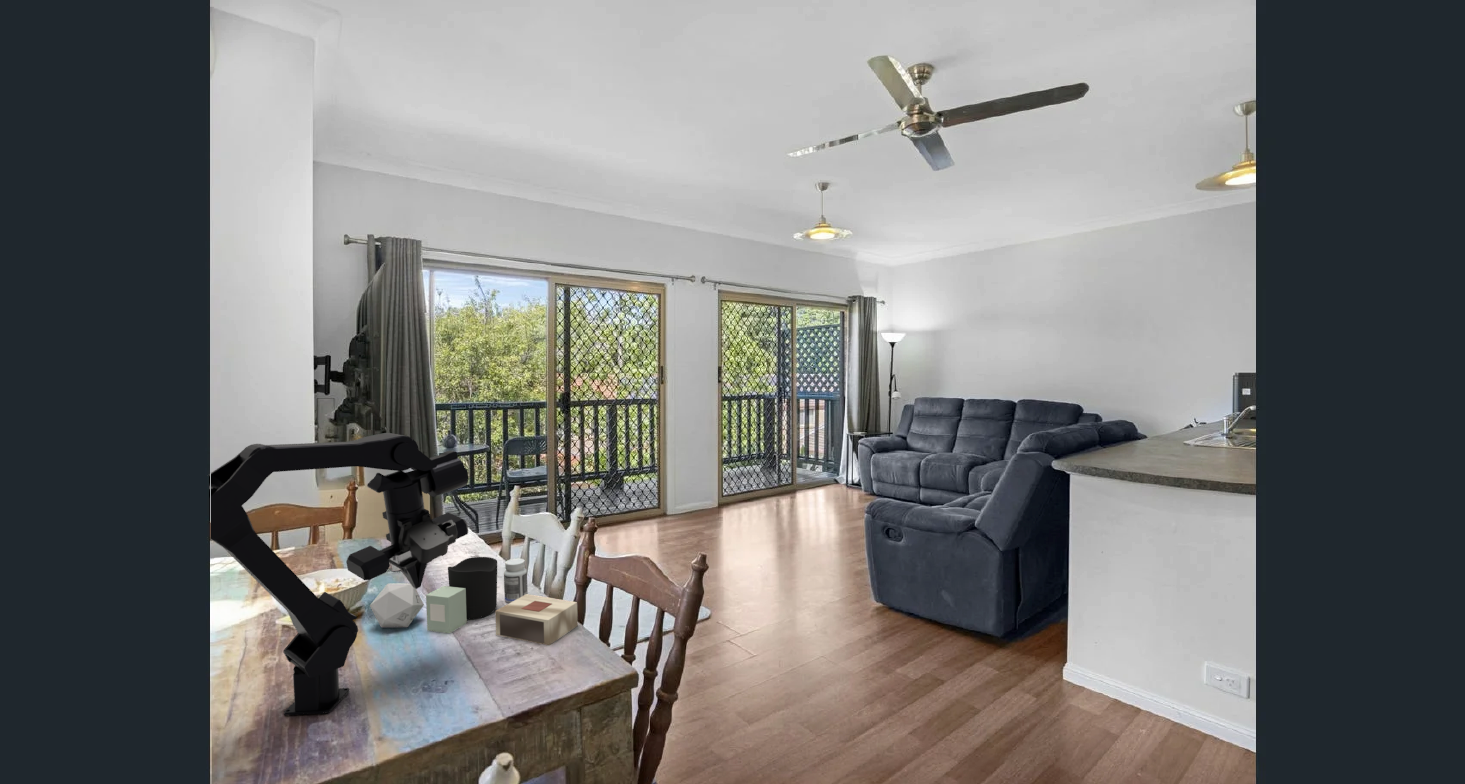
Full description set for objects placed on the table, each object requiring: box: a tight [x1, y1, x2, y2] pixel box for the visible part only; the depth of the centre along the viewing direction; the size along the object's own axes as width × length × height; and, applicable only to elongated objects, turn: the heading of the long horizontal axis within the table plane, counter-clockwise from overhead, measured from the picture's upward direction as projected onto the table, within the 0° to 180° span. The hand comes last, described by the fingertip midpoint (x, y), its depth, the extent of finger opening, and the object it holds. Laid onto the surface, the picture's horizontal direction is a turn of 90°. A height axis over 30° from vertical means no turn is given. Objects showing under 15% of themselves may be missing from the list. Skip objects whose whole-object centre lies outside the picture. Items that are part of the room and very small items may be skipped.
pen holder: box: [447, 556, 498, 621], centre depth 134 cm, size 9×9×10 cm
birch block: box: [494, 593, 578, 646], centre depth 125 cm, size 5×12×9 cm
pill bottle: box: [503, 557, 529, 604], centre depth 141 cm, size 5×5×8 cm
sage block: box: [425, 585, 468, 634], centre depth 127 cm, size 5×5×7 cm
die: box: [369, 582, 425, 629], centre depth 128 cm, size 8×9×10 cm
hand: (416, 587), depth 114 cm, fingers closed
